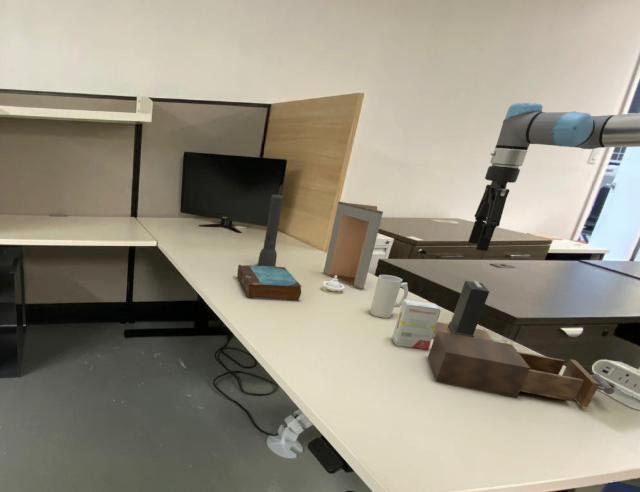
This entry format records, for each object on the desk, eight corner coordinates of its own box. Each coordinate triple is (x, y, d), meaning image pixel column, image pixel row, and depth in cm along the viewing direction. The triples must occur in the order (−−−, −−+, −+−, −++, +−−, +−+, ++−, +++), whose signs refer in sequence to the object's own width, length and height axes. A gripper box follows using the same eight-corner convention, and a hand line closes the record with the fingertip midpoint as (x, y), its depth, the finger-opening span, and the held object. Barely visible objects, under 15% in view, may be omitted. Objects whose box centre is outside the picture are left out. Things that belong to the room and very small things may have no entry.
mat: (484, 332, 140) (485, 330, 140) (496, 350, 128) (497, 348, 128) (426, 321, 144) (427, 320, 144) (433, 338, 132) (433, 336, 132)
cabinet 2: (500, 371, 115) (512, 344, 112) (517, 398, 104) (530, 368, 100) (427, 357, 120) (436, 330, 117) (435, 381, 108) (446, 352, 105)
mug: (373, 317, 145) (383, 280, 139) (365, 309, 151) (375, 274, 146) (405, 319, 145) (416, 282, 140) (396, 312, 151) (407, 276, 146)
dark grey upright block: (466, 329, 139) (483, 281, 133) (472, 340, 131) (492, 289, 125) (447, 326, 140) (464, 278, 134) (453, 337, 133) (471, 286, 126)
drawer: (586, 385, 110) (598, 364, 107) (612, 412, 99) (625, 389, 97) (491, 367, 115) (500, 346, 113) (506, 390, 104) (515, 368, 102)
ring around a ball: (329, 285, 172) (316, 288, 168) (333, 270, 170) (319, 273, 165) (348, 292, 167) (334, 295, 162) (352, 277, 164) (338, 280, 159)
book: (236, 277, 173) (238, 264, 171) (283, 280, 174) (285, 267, 172) (247, 298, 153) (249, 283, 151) (300, 301, 154) (302, 286, 152)
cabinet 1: (323, 273, 188) (338, 201, 176) (341, 272, 192) (357, 201, 180) (360, 289, 171) (379, 211, 159) (379, 288, 174) (400, 211, 163)
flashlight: (254, 264, 192) (265, 269, 186) (264, 194, 180) (276, 197, 175) (267, 263, 195) (278, 268, 190) (278, 194, 183) (290, 197, 178)
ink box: (423, 343, 129) (436, 302, 124) (428, 350, 124) (442, 309, 119) (391, 338, 130) (402, 298, 125) (394, 345, 126) (407, 304, 121)
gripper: (480, 163, 139) (455, 237, 148) (500, 166, 119) (471, 252, 129) (508, 165, 137) (482, 241, 146) (534, 169, 117) (501, 256, 127)
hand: (477, 246), depth 137 cm, fingers open, 10 cm apart
